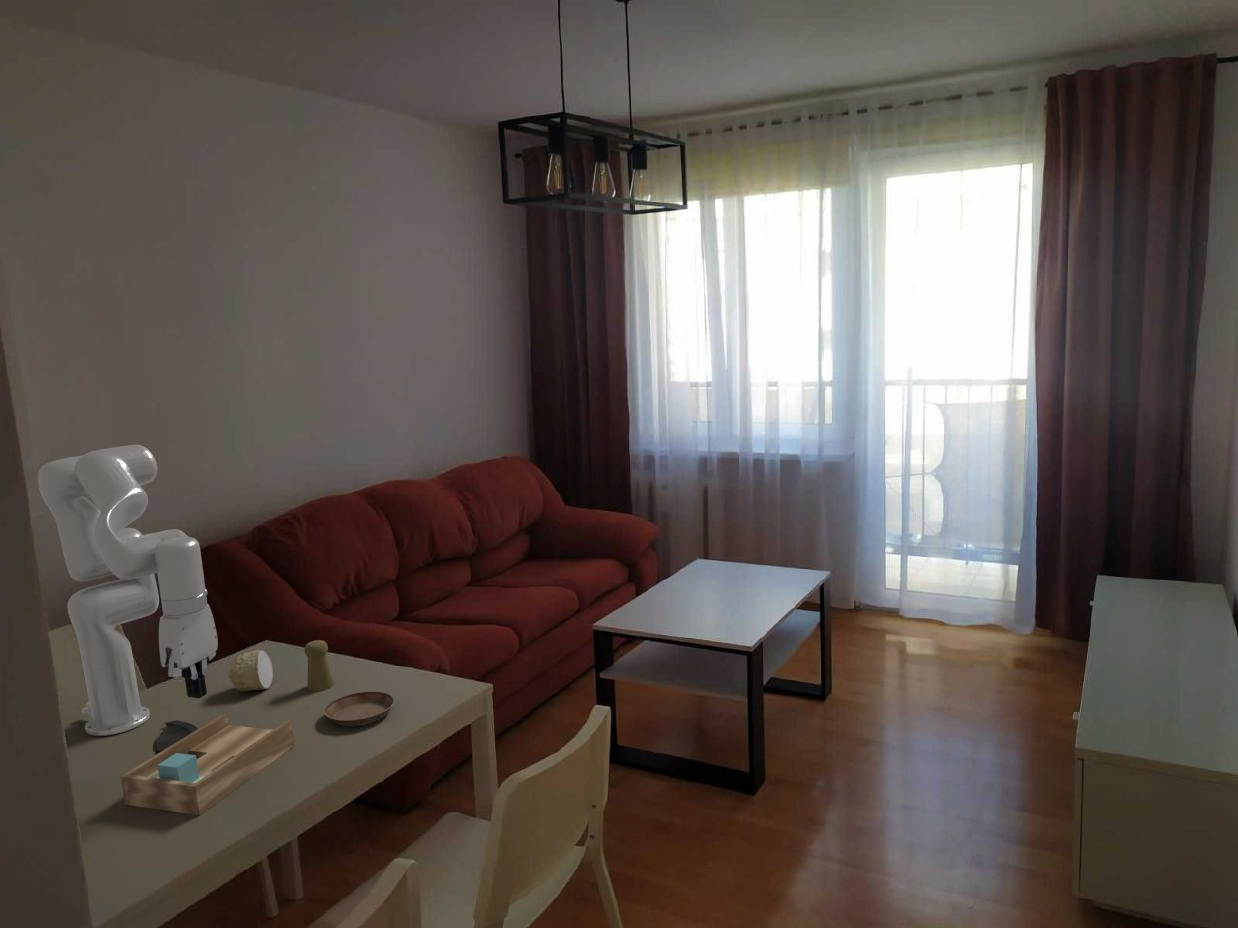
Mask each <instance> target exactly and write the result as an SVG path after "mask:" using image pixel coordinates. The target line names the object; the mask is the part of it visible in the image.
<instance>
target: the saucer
mask: <svg viewBox="0 0 1238 928" xmlns="http://www.w3.org/2000/svg"><path fill="white" fill-rule="evenodd" d="M394 704H395V697H394V696H393V695H391V694H389V693H388V692H383V691H376V690H375V691H373V690H372V691H369V690H368V691H359V692H355V693H351V694H346V695H344V696H341V697H338V698H336V699H334V700H332V701H330V702H329V703H328V704H327V705H326V706H325V707H324V709H323V714H324V716H325V717H326V718H327V719H328V720H329V721H331V722H332V723H334V724H336V725H339V726H341V727H349V728H351V727H353V728H355V727H362V726H366V725H369V724H373V723H375V722H378V721H379V720H381V719H382V718H383V717H385V716H386V715H387V714H388V713H389V712H390V710H391V709H392V708H393V706H394Z"/></svg>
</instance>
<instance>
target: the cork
mask: <svg viewBox="0 0 1238 928" xmlns="http://www.w3.org/2000/svg"><path fill="white" fill-rule="evenodd" d="M328 650H329V647H328V643H327V642H326V641H325V640H321V639H318V640H312V641H310V642H308V643H306V645H305V646H304V654H305V656H306V657H307V691H309V692H314V693H315V692H316V693H317V692H323V691H326V690H329V689H331V688H332V687H334V686H333V685H335V682H334V678H333V674H332V671H331V667H330V663H329V660H328V656H327V654H328Z"/></svg>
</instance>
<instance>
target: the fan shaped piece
mask: <svg viewBox="0 0 1238 928" xmlns="http://www.w3.org/2000/svg"><path fill="white" fill-rule="evenodd" d="M164 724H165V725H166V726H165V728H164V729H162V732H161V733H160V734H159V736H158V737H157V738H156V743H155V744H156V751H157V754H158V753H160V752H162V751H163V750H165V749H167V748H168V747H170V746H171V745H173V744H175V743H176V742H178V741H180V740H181V739H183V738H184V737H186V736H188V735H189V734H191V733H193V732H194V731H196V730H197V729H199V727H197V726H196V725H194V724H192V723H189V722H187V721H182V720H171V721H168V722H164Z"/></svg>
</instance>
